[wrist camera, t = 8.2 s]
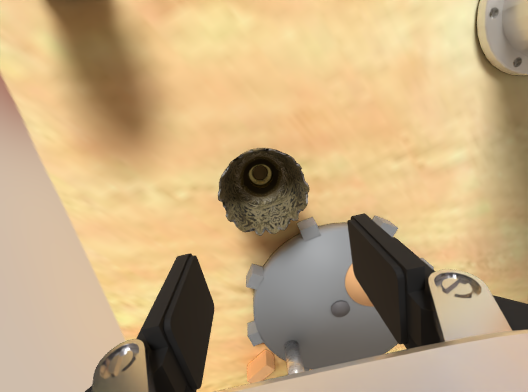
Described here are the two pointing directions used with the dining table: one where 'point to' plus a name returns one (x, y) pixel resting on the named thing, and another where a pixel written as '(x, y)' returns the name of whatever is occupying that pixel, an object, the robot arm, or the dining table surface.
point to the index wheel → (316, 301)
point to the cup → (263, 191)
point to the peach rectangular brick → (260, 367)
